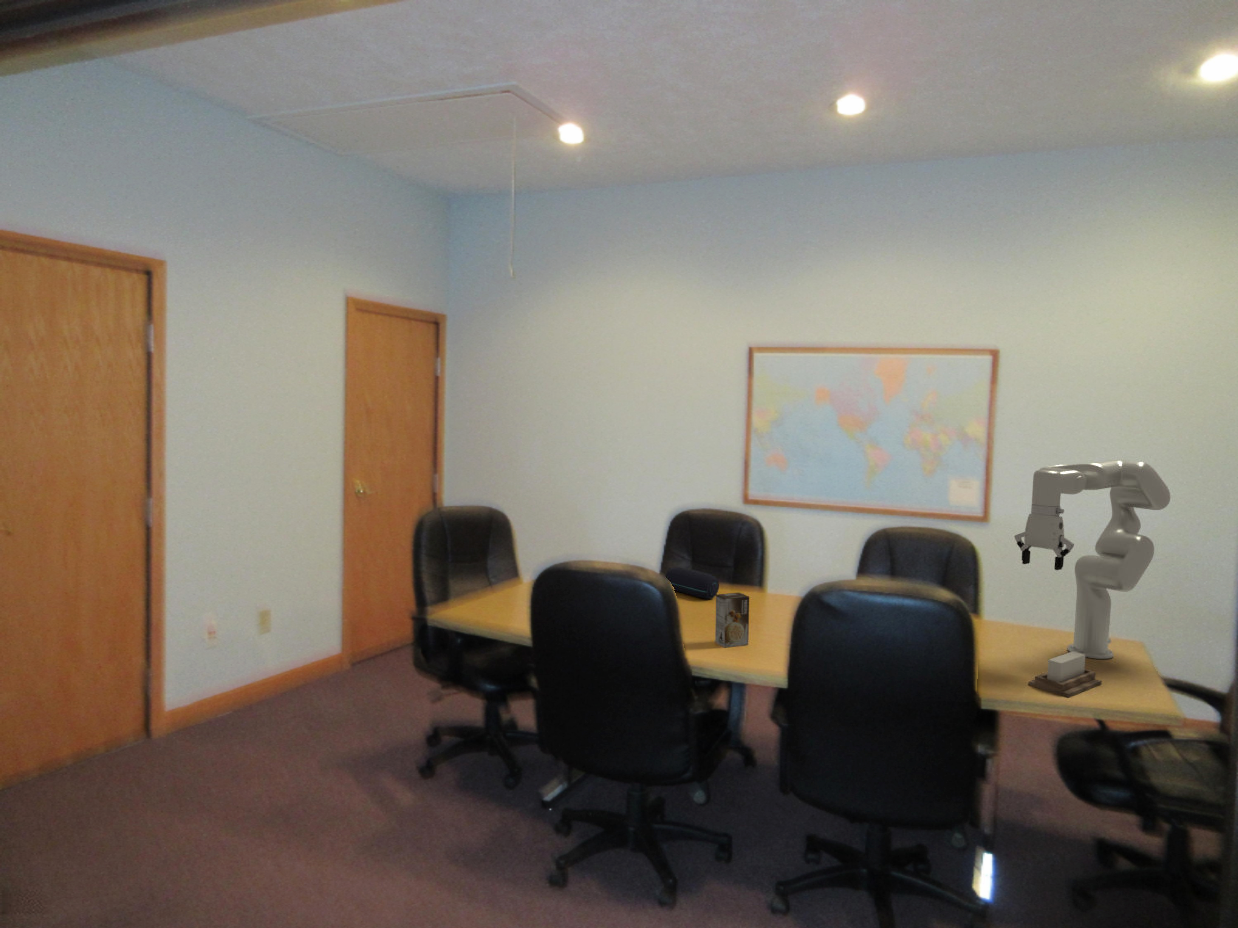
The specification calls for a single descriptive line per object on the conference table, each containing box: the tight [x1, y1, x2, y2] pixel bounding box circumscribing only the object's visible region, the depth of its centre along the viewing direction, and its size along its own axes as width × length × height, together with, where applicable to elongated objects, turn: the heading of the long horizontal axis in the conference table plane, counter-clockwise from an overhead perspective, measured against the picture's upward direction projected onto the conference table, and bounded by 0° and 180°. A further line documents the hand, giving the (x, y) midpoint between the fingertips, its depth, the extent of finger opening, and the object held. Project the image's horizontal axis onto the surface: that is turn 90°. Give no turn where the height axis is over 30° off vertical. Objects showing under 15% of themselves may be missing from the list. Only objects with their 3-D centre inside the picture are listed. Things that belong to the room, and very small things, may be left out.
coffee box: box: [714, 592, 750, 648], centre depth 253 cm, size 9×6×16 cm
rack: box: [1027, 668, 1103, 698], centre depth 222 cm, size 19×11×3 cm, turn 125°
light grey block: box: [1047, 651, 1086, 683], centre depth 221 cm, size 14×4×7 cm, turn 125°
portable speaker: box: [664, 566, 720, 600], centre depth 318 cm, size 25×10×10 cm, turn 41°
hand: (1041, 566), depth 237 cm, fingers open, 9 cm apart
